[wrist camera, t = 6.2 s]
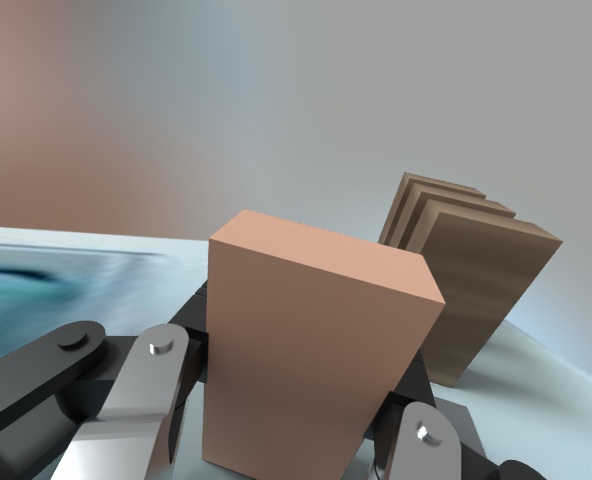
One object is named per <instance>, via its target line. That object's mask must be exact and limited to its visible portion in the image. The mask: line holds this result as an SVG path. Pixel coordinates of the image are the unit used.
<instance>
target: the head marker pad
mask: <svg viewBox="0 0 592 480" xmlns="http://www.w3.org/2000/svg"><path fill="white" fill-rule="evenodd" d="M433 397H434V396H433ZM434 400H435V404H436V407H437V410H438V411H439V412H441V413H442V414H443V415H444V416H445V417H446V418H447V419H448V421H449V422H450V423H451V424H452V426H453V427H454V429H455V431H456V433H457V435H458V437H459V440H460V441H461V442H462V443H464V444H465V445H466V446H468V447H469V448H471V449H472V450H474V451H476V452H477V453H479V454H480V455H482V456H483V457H485V458H486V455H485V453H484V450H483V448H482V445H481V443H480V440H479V437H478V435H477V432H476V430H475V427H474V424H473V422H472V419H471V417H470V414H469V411H468V409H467V407H466V406H463V405H460V404H456V403H453V402H450V401H447V400H444V399H440V398H437V397H434ZM486 459H487V458H486Z"/></svg>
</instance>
